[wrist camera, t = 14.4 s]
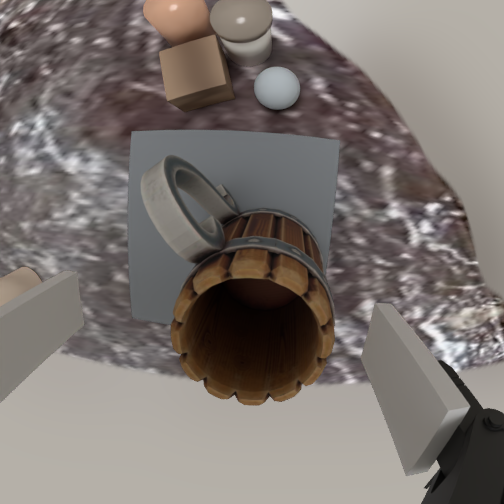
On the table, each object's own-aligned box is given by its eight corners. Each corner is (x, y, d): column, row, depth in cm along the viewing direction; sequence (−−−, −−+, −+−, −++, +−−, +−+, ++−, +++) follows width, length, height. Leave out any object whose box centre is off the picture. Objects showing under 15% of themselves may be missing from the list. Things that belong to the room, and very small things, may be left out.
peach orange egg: (166, 55, 25) (138, 28, 18) (173, 17, 24) (149, -14, 17) (213, 51, 25) (195, 20, 18) (218, 13, 23) (203, -22, 17)
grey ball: (254, 112, 26) (250, 101, 22) (257, 74, 25) (253, 58, 21) (297, 115, 26) (300, 105, 22) (299, 77, 25) (302, 62, 21)
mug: (339, 281, 28) (386, 373, 14) (246, 329, 30) (221, 439, 16) (256, 137, 26) (230, 91, 11) (162, 198, 28) (61, 221, 13)
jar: (222, 68, 25) (206, 38, 18) (227, 28, 24) (213, -7, 17) (272, 69, 25) (270, 38, 18) (275, 29, 23) (273, -7, 17)
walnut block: (185, 112, 26) (167, 100, 22) (177, 69, 25) (159, 52, 20) (235, 99, 26) (226, 83, 21) (225, 55, 25) (214, 34, 20)
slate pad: (134, 315, 32) (132, 318, 31) (134, 132, 27) (131, 131, 26) (313, 338, 31) (314, 341, 30) (338, 141, 26) (339, 140, 25)
